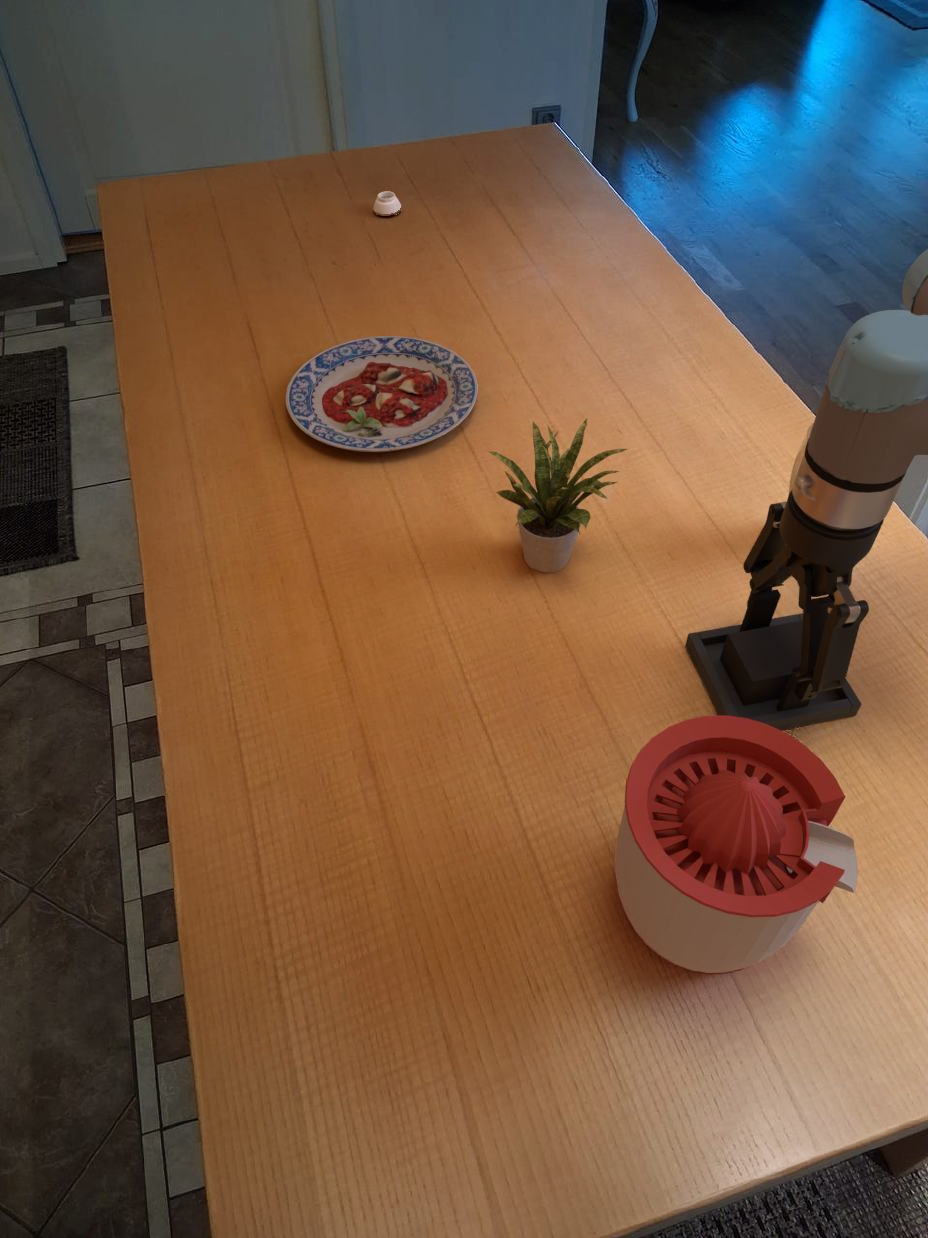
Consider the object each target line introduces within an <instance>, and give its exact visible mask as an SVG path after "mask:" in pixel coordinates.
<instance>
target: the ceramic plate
mask: <svg viewBox="0 0 928 1238" xmlns="http://www.w3.org/2000/svg"><path fill="white" fill-rule="evenodd" d="M478 384H479V383H478V379H477V376H476V374H475V372H474V370H473V367H471V365H470V364H469V363H468V361H466V360H465V359H464V358H463V357H462V356H460V355H459V354H458V353H457V352H455V351H454V350H451V349H450V348H448V347H446V346H444V345H441V344H439V343H436V342H433V341H430V340H425V339H422V338H417V337H412V336H411V337H410V336H408V337H407V336H401V335H377V336H371V337H370V336H369V337H363V338H357V339H353V340H348V341H346V342H343V343H339V344H335V345H334V346H330V347H329V348H327V349H324V350H323V351H321V352H319V353H318V354H316V355H314V356H313V357H311V358H310V359H308V360H307V361H305V362H304V363H303V364H302V365H301V366H300V367H299V368H298V369H297V371H296V372H295V373H293V375H292V377H291V379H290V380H289V382H288V385H287V388H286V391H285V392H286V393H285V405H286V409H287V412H288V414H289V416H290V418H291V420H292V421H293V423H295V425H296V426H297V427H298V428H299V429H300V430H301V431H302V432H303V433H305V434H306V435H307V436H309V437H311V438H312V439H314V440H316V441H318V442H321V443H323V444H325V445H327V446H332V447H335V448H339V449H343V450H349V451H354V452H363V453H364V452H365V453H367V452H368V453H371V452H372V453H385V452H393V451H399V450H405V449H410V448H415V447H417V446H420V445H424V444H427V443H429V442H433V441H434V440H436V439H438V438H441V437H443V436H444V435H446V434H448V433H449V432H451V431H452V430H454V429H455V428H457V427H458V426H460V424H461V423H462V422H463V421H464V420H465V419H466V418H467V417H468V416H469V414H470V413H471V411H472V410H473V408H474V406H475V404H476V401H477V398H478V391H479V385H478Z"/></svg>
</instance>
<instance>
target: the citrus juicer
mask: <svg viewBox="0 0 928 1238" xmlns="http://www.w3.org/2000/svg"><path fill="white" fill-rule="evenodd" d="M630 765H631V766H630V768H629V770H628V771H629V772H628V774H627V778H626V781H625V790H624V807H623V811H622V815H621V819H620V824H619V828H618V832H617V836H616V842H615V843H616V844H615V855H614V870H615V878H616V886H617V893H618V896H619V899H620V904H621V906H622V909H623V912H624V916H625V918H626V920H627V921H628V923H629V925H630V926H631V928H632V929H633V932H634V933H635V934H636V936H637V937H638V938H639V939H640V941H642V943H643V944H644V945H645V947H646V948H648V949H649V950H650V951H651V952H652V953H653V954H655V955H656V956H657V957H658V958H660V959H661V960H663V961H665V962H667V963H668V964H670V965H672V966H673V967H676V968H679V969H682V970H683V971H684V970H685V971H687V972H690V973H697V974H703V975H727V974H730V973H735V972H740V971H742V970H744V969H746V968H750V967H753V966H754V965H756V964H758V963H760V962H762V961H764V960H766V959H768V958H769V957H771V956H772V955H774V954H776V953H777V952H778V951H779V950H781V948H783V947H784V946H785V945H786V944H787V943H789V942H790V941H791V939H792V938H793V937H794V936H795V935H796V934H797V933H798V931H799V930H800V929H801V928H802V926H803V925H804V923H805V922H806V920H807V919H808V917H809V916H810V915H811V913H812V912H813V910H814V909H815V908H816V906H817V905H818V903H821V904H824V902H826V900H827V898H828V896H829V895H830V893H831V892H832V891H833V890H834V888H835V887H836V888H839V889H841V890H843V891H847V892H850V893H853V894H855V891H856V889H857V884H858V879H859V878H858V877H859V876H858V875H859V869H858V867H859V866H858V859H857V853H856V847H855V841H854V838H853V836H851V835H849V834H848V833H846V832H844V831H840V830H838V829H836V828H833V827H830V824H831V823H832V822H833V820H834V819H835V817H836V816H837V814H838V812H839V810H840V808H841V806H842V804H843V802H844V800H845V798H846V795H845V793H844V791H843V789H842V787H841V786H840V784H839V782H838V780H837V778H836V777H835V775H834V773H832V771H831V770H830V769H829V768H828V766H827V765H826V764H825V763H824V762H823V761H822V759H821V758H820V757H819V756H818V755H817V754H816V753H814V752H813V751H812V750H811V749H810V748H809V747H808V746H806V744H804V743H803V742H801V741H799V740H798V739H797V738H795V737H794V736H792V735H790V734H789V733H787V732H785V731H784V730H779V729H776V728H774V727H772V726H770V725H768V724H765V723H761V722H758V721H754V720H751V719H748V718H742V717H734V716H727V715H720V716H719V715H702V716H697V717H693V718H692V717H691V718H688V719H684V720H682V721H679V722H677V723H675V724H672V725H670V726H667V727H666V728H665V729H663V730H662V731H660V732H659V733H657V734H655V735H654V736H653V737H652V738H651V739H650V740H648V741H647V743H646V744H645V745H644V746H643V747H641V749H640V750H639V751H638V753H637V755H636V757H635V758H634V760H633V762H632V764H630Z"/></svg>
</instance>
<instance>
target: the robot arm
mask: <svg viewBox="0 0 928 1238" xmlns="http://www.w3.org/2000/svg"><path fill="white" fill-rule="evenodd" d="M901 297H902V298H901V299H902V303H903V305H904V308H905V309H886V310H880V311H875V312H872V313H870V314H866V315H865V316H863V317H861V318H860V319H858V320H857V321H856V322H855V323H853V324H852V325H851V327H849V329H848V331H847V332H846V334H845V335H844V338H843V339H842V342H841V344H840V346H839V347H838V349H837V353H836V355H835V357H834V360H833V362H832V365H831V367H830V369H829V370H828V372H827V375H826V379H825V382H824V384H825V386H824V389H823V392H822V395H821V399H820V402H819V405H818V409H817V412H816V415H815V417H814V421H813V423H814V424H813V423H812V424H813V427H812V431H811V434H810V437H809V439H808V442H807V445H806V448H805V452H804V455H803V458H802V461H801V464H800V466H799V469H798V472H797V475H796V478H795V480H794V484H793V487H792V490H791V492H790V494H789V493H788V495H789V496H788V495H787V500H786V501H782V502H777V503H771V504H769V505H768V511H767V515H766V521H765V523H764V525H763V527H762V529H761V531H760V532H759V534H758V536H757V538H756V539H755V542H754V543H753V545H752V546H751V549H750V551H749V552H748V554H747V555H746V558H745V560H744V561H743V566H742V567H743V571H744V572H745V574H750V576H751V578H750V580H749V589H750V591H749V595H748V598H747V601H746V610H745V613H744V616H743V619H742V621H741V622H742V623H741V624H742V625H741V628H740V631H739V632H742V631H747V630H753V629H758V628H764V627H769V626H770V623H771V620H772V619H773V618H774V616H775V615H774V614H775V612H776V610H777V607H778V604H779V601H780V598H781V596H782V594H781V592H780V591H779V589H774V588H778V587H783V586H785V584H784V582H785V581H787V580H788V579H790V578H791V577H792V578H793V579H794V580H795V581H796V583H797V586H798V602H797V604H798V608H800V609H801V610H802V613H803V627H802V646H801V665H800V667H794V668H793V670H792V673H791V675H790V677H789V680H788V682H787V684H786V687H785V689H784V691H783V694H782V696H781V698H780V701H779V703H778V705H777V708H776V709H777V711H778V712H780V711H785V710H790V709H795V708H800V707H805V706H808V704H809V702H810V699H813V698H815V697H817V694H818V692H821V691H826V690H831V689H836V688H841V687H843V686H844V683H845V679H847V674H848V672H849V667H850V664H851V660H852V657H853V652H854V649H855V645H856V641H857V638H858V634H859V630H860V627H861V624H862V622H863V621H864V619H865V618H866V617H867V615H868V614H869V612H870V605H869V602H868V601H866V600H865V599H861V600H856V599H855V597H854V595H853V592H852V591H851V589H850V586H851V585H852V579H853V570H854V568H855V567H856V566H857V565H858V564H859V563H860V562H861V561H862V560H863V559H864V558H866V557H867V555H868V554H869V553H870V552H871V550H872V548H873V546H874V544H875V541H876V539H877V537H878V536H879V532H880V530H881V528H882V526H883V524H884V521H885V518H886V517H887V516H888V513H889V512H890V511H891V507H892V505H893V503H894V500H895V498H896V496H897V493H898V491H899V489H900V487H901V485H902V482H903V480H904V478H905V477H906V474H907V471H908V469H909V467H910V466H911V464H912V462H913V460H914V458H915V457H916V456H928V248H926V249H925V250H924V251H923V252H921V254H919V255H918V256H917V258H916V259H915V260H914V261H913V262H912V264H911V265H910V266H909V269H908V270H907V271H906V274H905V275H904V279H903V282H902V290H901Z"/></svg>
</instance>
